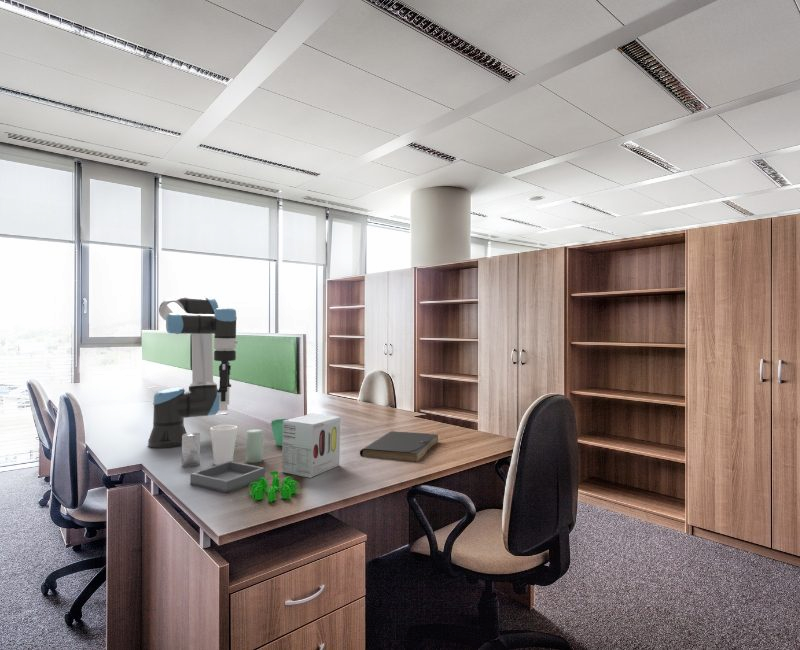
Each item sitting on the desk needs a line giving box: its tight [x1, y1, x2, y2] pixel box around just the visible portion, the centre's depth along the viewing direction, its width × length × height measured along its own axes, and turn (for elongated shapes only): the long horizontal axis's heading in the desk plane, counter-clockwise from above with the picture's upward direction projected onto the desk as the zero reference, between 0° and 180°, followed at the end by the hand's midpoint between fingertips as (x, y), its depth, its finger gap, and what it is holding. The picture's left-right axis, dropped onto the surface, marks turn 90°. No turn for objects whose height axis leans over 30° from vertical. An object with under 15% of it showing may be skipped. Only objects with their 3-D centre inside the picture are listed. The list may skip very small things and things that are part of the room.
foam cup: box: [209, 424, 238, 466], centre depth 169 cm, size 10×9×13 cm
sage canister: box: [245, 429, 264, 464], centre depth 173 cm, size 6×6×11 cm
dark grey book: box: [359, 430, 439, 462], centre depth 193 cm, size 33×4×24 cm
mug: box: [270, 418, 289, 447], centre depth 197 cm, size 15×10×10 cm
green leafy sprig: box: [247, 470, 300, 504], centre depth 138 cm, size 15×15×7 cm
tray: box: [189, 460, 266, 494], centre depth 149 cm, size 16×16×4 cm
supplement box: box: [281, 413, 341, 479], centre depth 163 cm, size 17×13×18 cm
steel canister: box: [181, 432, 201, 468], centre depth 166 cm, size 6×6×11 cm
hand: (224, 407), depth 169 cm, fingers open, 13 cm apart
